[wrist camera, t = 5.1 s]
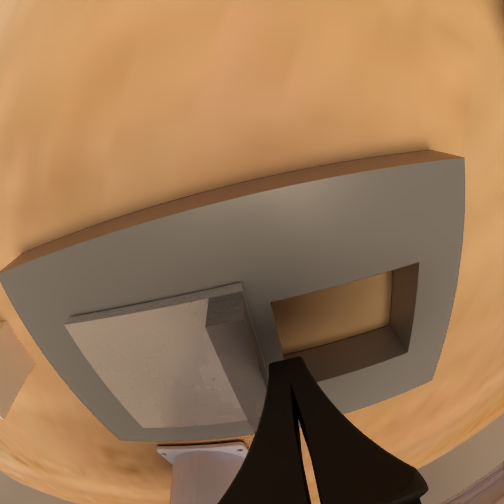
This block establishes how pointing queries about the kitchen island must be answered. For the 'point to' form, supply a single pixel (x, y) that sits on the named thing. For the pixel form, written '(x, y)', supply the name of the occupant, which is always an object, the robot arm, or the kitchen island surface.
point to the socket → (267, 273)
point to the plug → (11, 367)
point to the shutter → (179, 358)
